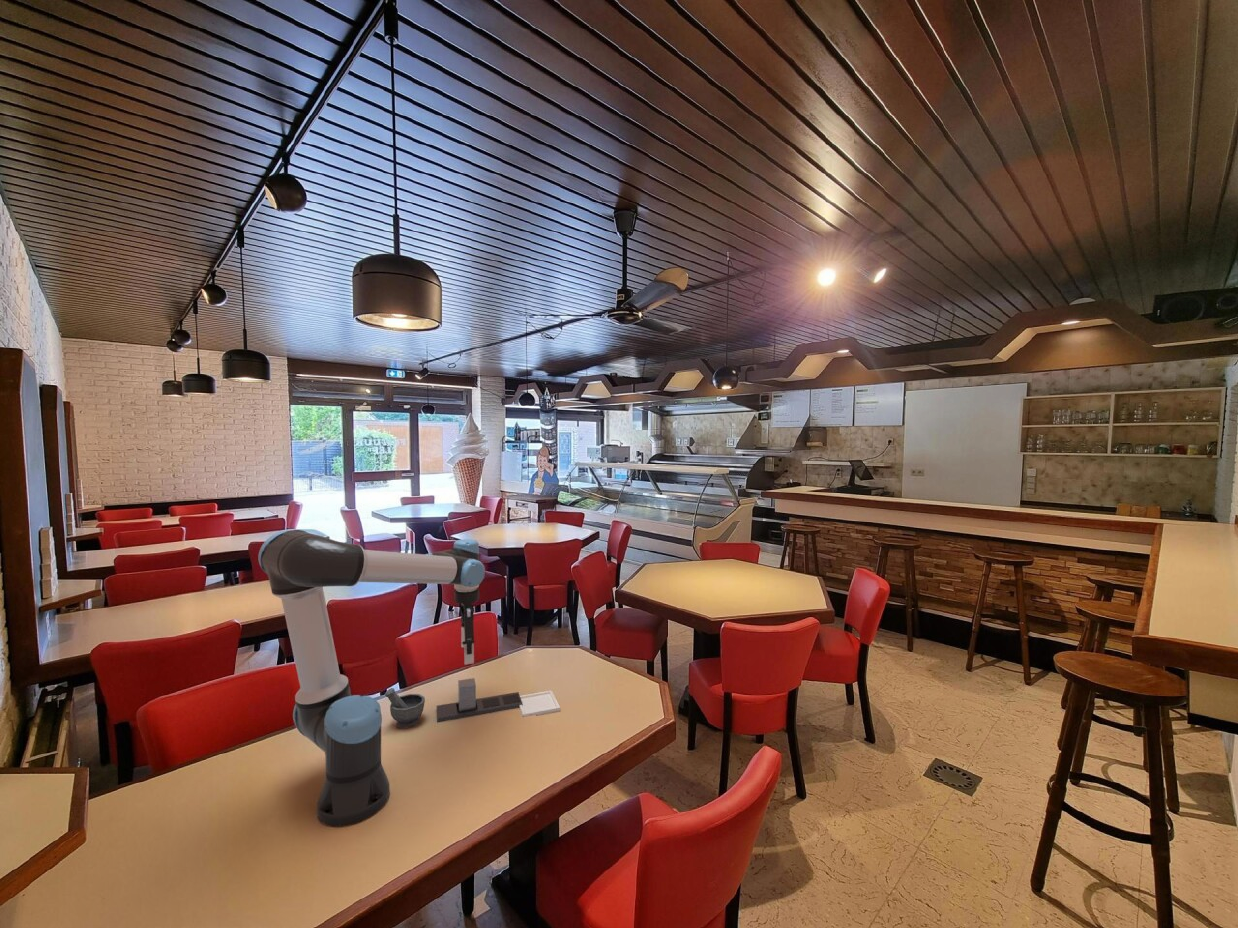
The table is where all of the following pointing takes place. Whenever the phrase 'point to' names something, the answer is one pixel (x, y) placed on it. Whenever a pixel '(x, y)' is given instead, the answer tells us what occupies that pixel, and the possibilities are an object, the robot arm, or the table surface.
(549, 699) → the parts tray
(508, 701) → the rack rail
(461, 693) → the gray rectangular block
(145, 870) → the table surface
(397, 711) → the mortar and pestle
